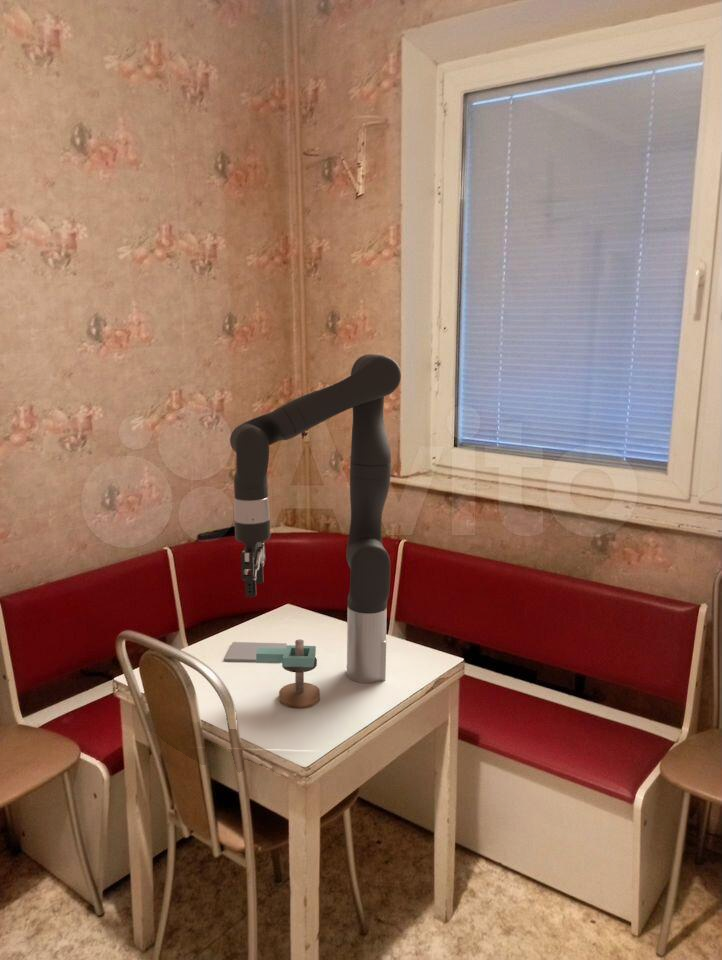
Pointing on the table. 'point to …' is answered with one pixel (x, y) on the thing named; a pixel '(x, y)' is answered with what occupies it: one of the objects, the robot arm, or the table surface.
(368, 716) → the table surface
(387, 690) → the table surface
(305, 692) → the stand
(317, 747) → the table surface
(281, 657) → the teal square frame paddle
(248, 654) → the mat
